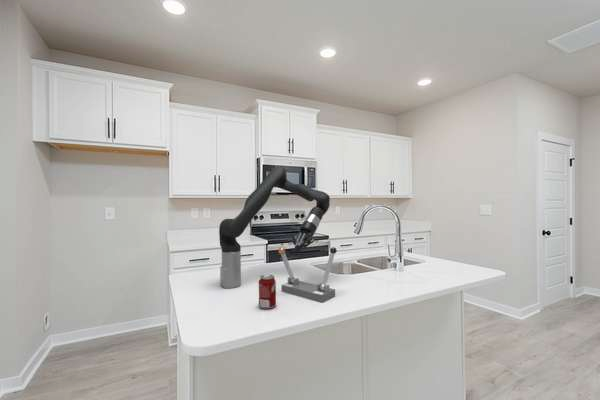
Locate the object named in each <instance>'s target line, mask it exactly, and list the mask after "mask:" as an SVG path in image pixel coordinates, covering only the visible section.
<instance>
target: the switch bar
mask: <svg viewBox="0 0 600 400" xmlns="http://www.w3.org/2000/svg"><path fill="white" fill-rule="evenodd" d="M295 278H296V277H295ZM320 284H322V282H318V283H316V284H313V283H309V282H305V281H301V280H300V278H299V277H297V278H296V279H294V283H291V282H290V277H289V276H288V277H287V282H286V283H283V284H281V292H282V293H286V294H289V295H292V296H297V297H300V298H304V299H308V300H311V301H314V302H318V303H322V304H323V303H325V302H326V301H329V300H332V299H333V298H334V297H336V289H335V288H331V287H330V284H326V286H324V288H325V291H323V290H320V289H319V286H320Z"/></svg>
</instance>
